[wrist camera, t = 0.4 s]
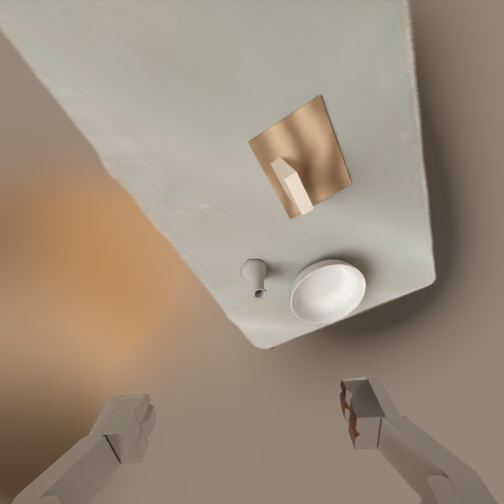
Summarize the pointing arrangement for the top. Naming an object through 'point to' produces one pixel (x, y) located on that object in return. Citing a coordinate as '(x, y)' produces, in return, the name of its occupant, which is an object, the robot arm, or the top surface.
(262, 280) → the flask
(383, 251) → the top surface
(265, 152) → the wooden board
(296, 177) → the tile
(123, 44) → the top surface
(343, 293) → the serving bowl
